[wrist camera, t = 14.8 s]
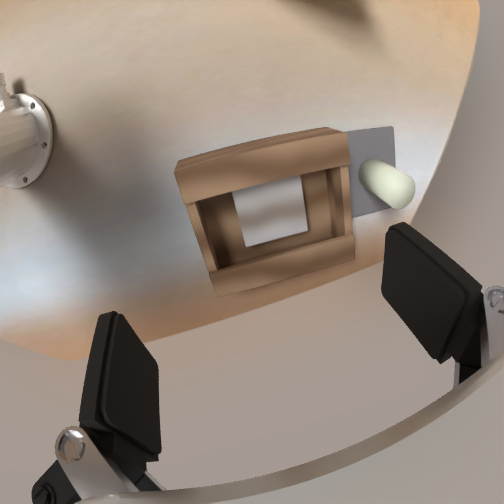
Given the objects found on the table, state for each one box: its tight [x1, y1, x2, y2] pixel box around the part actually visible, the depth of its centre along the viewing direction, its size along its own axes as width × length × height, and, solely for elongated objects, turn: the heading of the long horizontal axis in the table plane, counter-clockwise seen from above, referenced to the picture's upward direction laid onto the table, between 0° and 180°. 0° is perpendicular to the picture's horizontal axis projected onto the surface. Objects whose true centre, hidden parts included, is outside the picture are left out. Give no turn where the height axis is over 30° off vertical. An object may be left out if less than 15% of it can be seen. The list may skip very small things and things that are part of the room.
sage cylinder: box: [358, 158, 415, 209], centre depth 32 cm, size 4×4×7 cm
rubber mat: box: [345, 126, 396, 218], centre depth 35 cm, size 12×8×1 cm, turn 12°
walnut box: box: [174, 127, 355, 298], centre depth 33 cm, size 16×18×6 cm
